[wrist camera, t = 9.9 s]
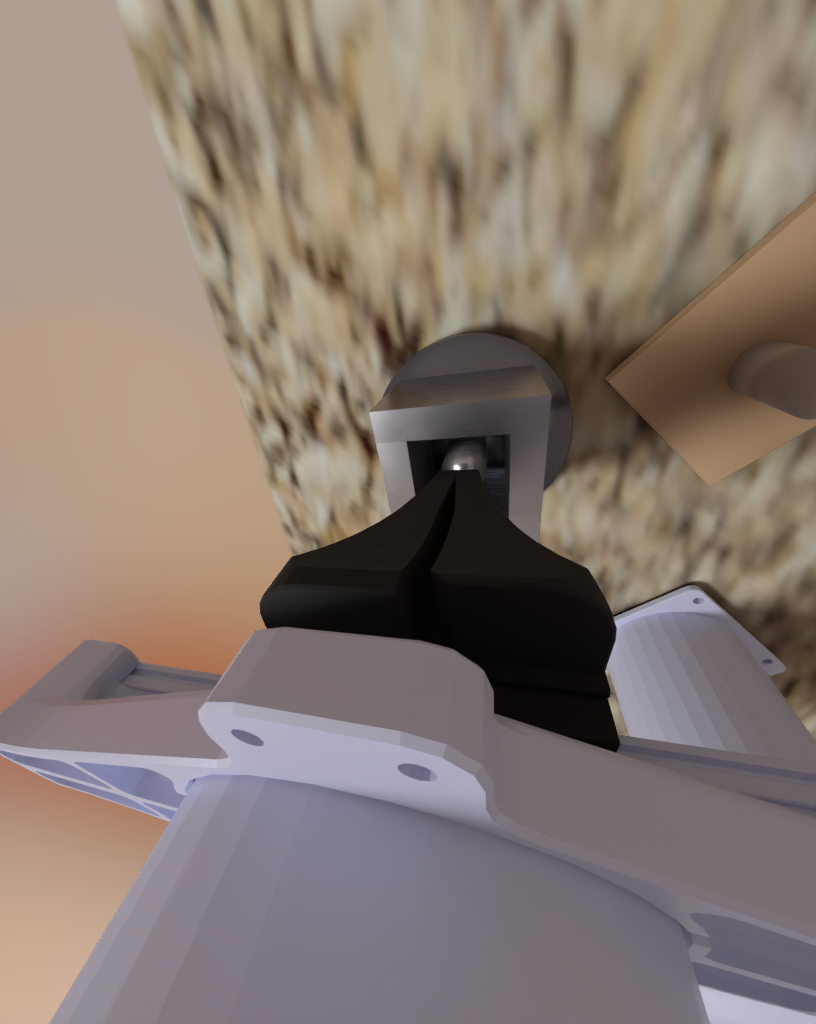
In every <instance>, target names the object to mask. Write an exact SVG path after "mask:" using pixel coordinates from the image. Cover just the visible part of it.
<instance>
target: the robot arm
mask: <svg viewBox="0 0 816 1024" xmlns="http://www.w3.org/2000/svg"><path fill="white" fill-rule="evenodd" d="M260 614H261V616H262V619H263V621H264V623H265V626H266V627H267V629H262V630H257V631H255V632H254V633H253V634H252V635H251V636H250V638H249V639H248V640H247V641H246V642H245V644H244V645H243V646H242V648H241V649H240V651H239V652H238V654H237V655H236V657H235V658H234V659H233V661H232V663H231V664H230V665H229V667H228V668H227V670H226V671H225V673H224V674H223V675H219V674H213V673H207V672H200V671H194V670H187V669H179V668H174V667H166V666H160V665H153V664H147V663H141V662H139V659H138V658H137V657H136V656H135V655H134V654H133V653H132V652H131V651H130V650H129V649H128V648H126V647H124V646H122V645H120V644H117V643H112V642H105V641H97V640H85V641H83V642H82V643H81V644H80V645H79V646H78V647H77V648H76V649H74V650H73V651H72V652H71V653H70V654H69V655H67V656H66V657H65V658H64V659H63V660H62V661H61V662H59V663H58V664H57V665H56V666H55V667H54V668H52V669H51V670H50V671H49V672H48V673H47V674H46V675H45V676H44V677H42V678H41V679H40V680H39V681H38V682H36V683H35V684H34V685H33V686H32V687H31V688H30V689H28V690H27V691H26V692H25V693H24V694H23V695H22V696H20V697H19V698H18V699H17V700H16V701H15V702H13V703H12V704H11V705H10V706H9V707H8V708H7V709H6V710H4V711H3V712H2V713H1V714H0V755H1V756H3V757H5V758H7V759H9V760H11V761H13V762H15V763H17V764H19V765H21V766H23V767H25V768H27V769H28V770H30V771H33V772H34V773H36V774H38V775H40V776H42V777H44V778H46V779H48V780H50V781H52V782H54V783H56V784H59V785H62V786H65V787H69V788H72V789H75V790H78V791H81V792H85V793H88V794H91V795H94V796H97V797H100V798H103V799H106V800H109V801H112V802H115V803H118V804H121V805H124V806H127V807H130V808H132V809H135V810H138V811H141V812H144V813H147V814H149V815H152V816H155V817H158V818H161V819H163V820H167V821H169V822H170V823H169V824H168V826H167V828H166V829H165V831H164V833H163V834H162V836H161V838H160V839H159V841H158V843H157V844H156V846H155V848H154V849H153V851H152V853H151V854H150V856H149V858H148V859H147V861H146V863H145V864H144V866H143V868H142V869H141V871H140V873H139V874H138V876H137V878H136V879H135V881H134V883H133V884H132V886H131V888H130V889H129V891H128V893H127V895H126V896H125V898H124V899H123V901H122V903H121V904H120V906H119V908H118V909H117V911H116V913H115V914H114V916H113V918H112V919H111V921H110V923H109V924H108V926H107V928H106V929H105V931H104V933H103V934H102V936H101V938H100V939H99V941H98V943H97V944H96V946H95V948H94V950H93V951H92V953H91V955H90V956H89V958H88V960H87V961H86V963H85V965H84V966H83V968H82V969H81V971H80V973H79V974H78V976H77V978H76V979H75V981H74V983H73V985H72V986H71V988H70V990H69V991H68V993H67V995H66V996H65V998H64V1000H63V1001H62V1003H61V1005H60V1006H59V1008H58V1010H57V1011H56V1013H55V1015H54V1017H53V1018H52V1020H51V1021H50V1023H49V1024H816V741H815V740H814V738H813V737H812V736H811V734H810V733H809V731H808V730H807V729H806V727H805V726H804V724H803V723H802V722H801V720H800V719H799V717H798V716H797V715H796V713H795V712H794V710H793V709H792V708H791V706H790V705H789V703H788V702H787V701H786V699H785V698H784V696H783V695H782V694H781V692H780V691H779V690H778V688H777V687H776V685H775V684H774V683H773V681H772V680H771V678H770V677H769V676H772V675H776V674H780V673H783V672H784V671H785V670H786V667H785V665H784V664H783V663H782V662H781V661H780V660H779V659H778V658H777V657H776V656H775V655H774V654H773V653H772V652H770V651H769V650H768V649H767V648H766V647H765V646H764V645H763V644H762V643H761V642H759V641H758V640H757V639H756V638H755V637H754V636H753V635H752V634H751V633H749V632H748V631H747V630H746V629H745V628H744V627H743V626H742V625H741V624H740V623H738V622H737V621H736V620H735V619H734V618H733V617H732V616H731V615H730V614H729V613H727V612H726V611H725V610H724V609H723V608H722V607H721V606H720V605H719V604H717V603H716V602H715V601H714V600H713V599H712V598H711V597H710V596H709V595H708V594H706V593H705V592H704V591H703V590H702V589H701V588H700V587H698V586H695V585H688V586H685V587H683V588H680V589H678V590H676V591H673V592H671V593H669V594H666V595H664V596H662V597H659V598H657V599H655V600H652V601H650V602H648V603H645V604H643V605H641V606H638V607H636V608H634V609H631V610H629V611H627V612H624V613H622V614H620V615H617V616H615V617H613V615H612V612H611V609H610V607H609V605H608V603H607V601H606V599H605V597H604V595H603V593H602V592H601V590H600V588H599V586H598V585H597V583H596V581H595V580H594V578H593V576H592V575H591V573H590V571H589V570H588V569H587V568H585V567H583V566H581V565H579V564H577V563H575V562H573V561H571V560H568V559H566V558H564V557H562V556H560V555H558V554H556V553H554V552H553V551H551V550H549V549H548V548H546V547H544V546H543V545H541V544H539V543H538V542H536V541H535V540H533V539H532V538H531V537H529V536H528V535H527V534H525V533H524V532H523V531H521V530H520V529H519V528H518V527H517V526H516V525H514V524H513V523H512V522H511V521H510V520H509V519H508V518H507V516H506V515H505V514H504V513H503V512H502V511H501V510H500V508H499V507H498V506H497V504H496V503H495V502H494V500H493V499H492V497H491V496H490V494H489V493H488V491H487V489H486V487H485V486H484V483H483V481H482V479H481V476H480V472H479V471H478V470H477V469H468V470H441V471H440V472H439V473H438V474H437V475H436V476H435V477H434V478H433V479H432V480H431V481H430V482H429V483H428V484H427V485H426V486H425V487H424V488H423V489H422V490H421V491H420V492H419V493H418V494H416V495H415V496H414V497H413V498H412V499H410V500H409V501H408V502H407V503H406V504H404V505H403V506H402V507H401V508H399V509H398V510H397V511H395V512H394V513H392V514H391V515H389V516H388V517H386V518H385V519H383V520H382V521H380V522H378V523H376V524H374V525H373V526H371V527H369V528H367V529H365V530H363V531H361V532H359V533H357V534H355V535H353V536H351V537H348V538H346V539H344V540H341V541H339V542H336V543H334V544H331V545H328V546H325V547H323V548H319V549H316V550H313V551H310V552H306V553H303V554H300V555H297V556H293V557H291V558H290V560H289V561H288V562H287V564H286V565H285V566H284V568H283V569H282V570H281V572H280V573H279V574H278V576H277V577H276V578H275V580H274V581H273V582H272V584H271V585H270V587H269V588H268V589H267V591H266V592H265V593H264V595H263V597H262V599H261V602H260ZM606 667H607V668H608V669H609V672H610V675H611V678H612V682H613V685H614V688H615V691H616V695H617V698H618V701H619V704H620V707H621V711H622V714H623V717H624V720H625V724H626V727H627V730H628V733H629V736H624V735H618V733H617V730H616V726H615V723H614V719H613V716H612V712H611V709H610V705H609V702H608V698H609V697H610V687H609V684H608V680H607V677H606V673H605V670H606Z"/></svg>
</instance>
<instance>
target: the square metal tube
mask: <svg viewBox="0 0 816 1024" xmlns="http://www.w3.org/2000/svg"><path fill="white" fill-rule="evenodd" d="M551 396H552V395H551V393H550V391H549V389H548V388H547V386H546V384H545V382H544V381H543V379H542V377H541V375H540V374H539V372H538V370H537V368H536V367H535V365H527V366H518V367H510V368H502V369H493V370H485V371H476V372H468V373H460V374H451V375H443V376H434V377H426V378H417V379H409V380H401V381H399V382H398V383H397V384H396V385H395V386H394V387H393V388H392V389H391V390H390V391H389V392H388V393H387V394H386V395H385V396H384V397H383V398H382V400H381V401H380V402H379V403H378V404H377V405H376V406H375V407H374V408H373V409H372V410H371V411H370V412H369V413H370V418H371V422H372V427H373V432H374V436H375V441H376V445H377V450H378V455H379V459H380V464H381V469H382V473H383V478H384V482H385V487H386V492H387V496H388V501H389V506H390V510H391V514H392V513H394V512H395V511H397V510H398V509H399V508H401V507H402V506H403V505H404V504H406V503H407V502H408V501H409V500H410V499H412V498H413V497H414V496H415V495H416V494H418V493H419V492H420V491H421V490H422V489H423V488H424V487H425V486H426V485H427V484H428V483H429V482H430V481H431V480H432V479H433V478H434V477H435V476H436V475H437V474H438V473H439V472H440V471H441V470H437V471H435V466H434V458H433V449H432V441H431V440H433V439H447V438H462V437H476V436H491V435H505V466H504V468H487V474H486V478H485V480H484V481H483V483H484V486H485V487H486V489H487V491H488V493H489V494H490V496H491V497H492V499H493V500H494V502H495V503H496V504H497V506H498V507H499V508H500V510H501V511H502V512H503V513H504V514H505V515H506V516H507V518H508V519H509V520H510V521H511V522H512V523H513V524H514V525H516V526H517V527H518V528H519V529H520V530H521V531H523V532H524V533H525V534H527V535H528V536H529V537H531V538H532V539H533V540H535V541H536V542H538V543H539V534H540V522H541V511H542V499H543V488H544V476H545V465H546V453H547V442H548V430H549V419H550V407H551Z"/></svg>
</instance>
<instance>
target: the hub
mask: <svg viewBox="0 0 816 1024" xmlns="http://www.w3.org/2000/svg"><path fill="white" fill-rule="evenodd" d="M527 365H535V367H536V368H537V370H538V372H539V374H540V375H541V377H542V379H543V381H544V382H545V384H546V386H547V388H548V389H549V391H550V393H551V395H552V396H551V407H550V419H549V430H548V442H547V453H546V465H545V476H544V488H543V491H544V490H545V489H546V488H547V487H548V486H549V485H550V484H551V483H552V481H553V480H554V478H555V477H556V476H557V474H558V473H559V471H560V469H561V467H562V465H563V464H564V462H565V459H566V456H567V454H568V451H569V447H570V443H571V438H572V427H573V422H572V411H571V406H570V402H569V398H568V396H567V393H566V391H565V388H564V386H563V384H562V382H561V381H560V379H559V378H558V376H557V374H556V373H555V371H554V370H553V369H552V368H551V366H550V365H549V364H548V363H547V362H546V361H545V359H544V358H543V357H541V356H540V355H539V354H538V353H537V352H536V351H534V350H533V349H532V348H530V347H528V346H527V345H525V344H524V343H522V342H520V341H518V340H515V339H513V338H510V337H508V336H504V335H500V334H495V333H487V332H469V333H461V334H457V335H452V336H449V337H446V338H443V339H441V340H438V341H436V342H434V343H432V344H430V345H428V346H427V347H425V348H424V349H422V350H421V351H419V352H418V353H417V354H415V355H414V356H413V357H412V358H411V359H410V360H409V361H408V362H407V363H406V364H405V365H403V366H402V367H401V368H400V370H399V371H398V372H397V373H396V375H395V376H394V377H393V378H392V380H391V382H390V384H389V385H388V387H387V389H386V391H385V393H384V395H383V397H384V396H385V395H386V394H387V393H388V392H389V391H390V390H391V389H392V388H393V387H394V386H395V385H396V384H397V383H398V382H399V381H401V380H409V379H417V378H426V377H434V376H443V375H451V374H460V373H468V372H476V371H485V370H493V369H502V368H510V367H518V366H527ZM431 441H432V449H433V458H434V466H435V471H437V470H468V469H477V470H478V471H479V472H480V476H481V479H482V481H484V480H485V478H486V474H487V468H504V466H505V435H491V436H476V437H462V438H447V439H433V440H431Z"/></svg>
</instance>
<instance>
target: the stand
mask: <svg viewBox="0 0 816 1024" xmlns="http://www.w3.org/2000/svg"><path fill="white" fill-rule="evenodd" d="M604 379H605V380H606V381H607V382H608V383H609V384H610V385H611V386H612V387H613V388H614V389H615V390H616V391H617V392H618V393H619V394H620V395H621V396H622V397H623V398H624V399H625V400H626V402H627V403H628V404H629V405H630V406H631V407H632V408H633V409H634V410H635V411H636V412H637V413H638V414H639V415H640V416H641V417H642V418H643V419H644V420H645V421H646V422H647V423H648V424H649V425H650V426H651V427H652V428H653V429H654V430H655V431H656V432H657V433H658V434H659V435H660V436H661V437H662V438H663V440H664V441H665V442H666V443H667V444H668V445H669V446H670V447H671V448H672V449H673V450H674V451H675V452H676V453H677V454H678V455H679V456H680V457H681V458H682V459H683V460H684V461H685V462H686V463H687V464H688V465H689V466H690V467H691V468H692V469H693V470H694V471H695V472H696V473H697V474H698V475H699V477H700V478H701V479H702V480H703V481H705V482H706V483H707V484H708V485H709V486H711V485H713V484H714V483H716V482H718V481H720V480H721V479H723V478H725V477H727V476H729V475H730V474H732V473H734V472H736V471H737V470H739V469H741V468H743V467H744V466H746V465H748V464H750V463H751V462H753V461H755V460H757V459H758V458H760V457H762V456H764V455H766V454H767V453H769V452H771V451H773V450H774V449H776V448H778V447H780V446H781V445H783V444H785V443H787V442H788V441H790V440H792V439H794V438H795V437H797V436H799V435H801V434H802V433H804V432H806V431H808V430H810V429H811V428H813V427H815V426H816V192H815V193H814V194H813V195H812V196H811V197H810V198H808V199H807V200H806V201H805V202H804V203H803V204H802V205H800V206H799V207H798V208H797V209H796V210H795V211H794V212H793V213H791V214H790V215H789V216H788V217H787V218H786V219H785V220H783V221H782V222H781V223H780V224H779V225H778V226H777V227H775V228H774V229H773V230H772V231H771V232H770V233H769V234H768V235H766V236H765V237H764V238H763V239H762V240H761V241H760V242H758V243H757V244H756V245H755V246H754V247H753V248H752V249H751V250H749V251H748V252H747V253H746V254H745V255H744V256H743V257H741V258H740V259H739V260H738V261H737V262H736V263H735V264H733V265H732V266H731V267H730V268H729V269H728V270H727V271H726V272H724V273H723V274H722V275H721V276H720V277H719V278H718V279H716V280H715V281H714V282H713V283H712V284H711V285H710V286H708V287H707V288H706V289H705V290H704V291H703V292H702V293H701V294H699V295H698V296H697V297H696V298H695V299H694V300H693V301H691V302H690V303H689V304H688V305H687V306H686V307H685V308H684V309H682V310H681V311H680V312H679V313H678V314H677V315H676V316H674V317H673V318H672V319H671V320H670V321H669V322H668V323H666V324H665V325H664V326H663V327H662V328H661V329H660V330H659V331H657V332H656V333H655V334H654V335H653V336H652V337H651V338H649V339H648V340H647V341H646V342H645V343H644V344H643V345H641V346H640V347H639V348H638V349H637V350H636V351H635V352H634V353H632V354H631V355H630V356H629V357H628V358H627V359H626V360H624V361H623V362H622V363H621V364H620V365H619V366H618V367H616V368H615V369H614V370H613V371H612V372H611V373H610V374H609V375H607V376H606V377H605V378H604Z"/></svg>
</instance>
